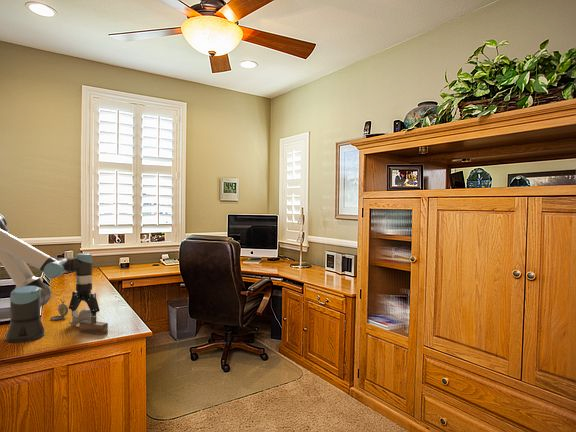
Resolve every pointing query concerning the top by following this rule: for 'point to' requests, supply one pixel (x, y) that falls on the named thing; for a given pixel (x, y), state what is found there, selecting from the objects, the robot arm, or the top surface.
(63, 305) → the pocket watch
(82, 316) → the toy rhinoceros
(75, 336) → the top surface
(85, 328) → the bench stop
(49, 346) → the top surface
